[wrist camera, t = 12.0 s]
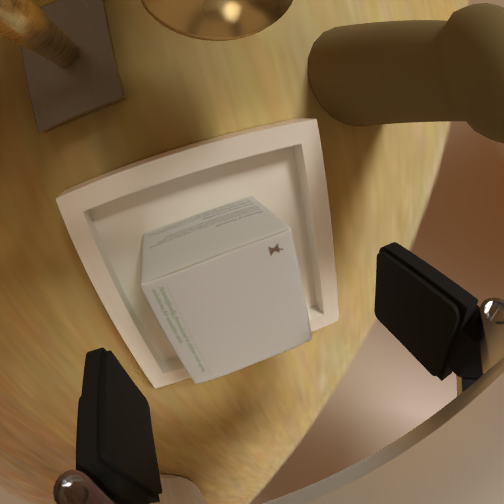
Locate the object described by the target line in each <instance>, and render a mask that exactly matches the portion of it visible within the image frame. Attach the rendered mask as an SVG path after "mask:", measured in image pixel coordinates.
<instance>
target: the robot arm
mask: <svg viewBox="0 0 504 504" xmlns="http://www.w3.org/2000/svg"><path fill="white" fill-rule="evenodd" d="M477 303H478V299H476V298H475V297H474V296H472V295H471V294H470V293H468V292H467V291H466V290H464V289H463V288H461V287H460V286H459V285H458V284H456V283H455V282H453V281H452V280H450V279H449V278H448V277H446V276H445V275H444V274H442V273H441V272H439V271H438V270H437V269H435V268H434V267H432V266H431V265H429V264H428V263H426V262H425V261H423V260H422V259H420V258H419V257H417V256H416V255H414V254H413V253H412V252H410V251H409V250H407V249H405V248H404V247H402V246H401V245H399V244H398V243H396V242H394V243H391V244H389V245H386V246H384V247H382V248H380V251H379V253H378V255H377V269H376V293H375V315H376V317H377V319H378V320H379V321H380V322H381V323H382V324H383V325H384V326H385V327H386V328H387V329H388V330H389V331H390V332H391V333H392V334H393V335H394V336H395V337H396V338H397V339H398V340H399V341H400V342H401V343H402V344H403V345H404V346H405V347H406V348H407V349H408V351H409V352H411V354H412V355H413V356H414V357H415V358H416V359H417V360H418V361H419V362H420V363H421V364H422V365H423V366H424V367H425V368H426V369H427V370H428V371H429V372H430V373H431V374H432V375H433V376H437V377H438V378H439V379H440V380H441V381H442V380H443V379H444V378H446V377H447V376H448V375H450V374H451V373H452V371H453V372H454V373H455V374H456V377H457V397H456V398H455V399H454V400H453V401H451V402H450V403H449V404H447V405H446V406H445V407H444V408H442V409H441V410H440V411H438V412H437V413H436V414H434V415H433V416H432V417H430V418H429V419H427V420H426V421H424V422H423V423H422V424H420V425H419V426H417V427H416V428H414V429H413V430H411V431H410V432H408V433H407V434H405V435H404V436H402V437H401V438H399V439H397V440H396V441H394V442H393V443H391V444H389V445H388V446H386V447H384V448H383V449H381V450H379V451H378V452H376V453H374V454H372V455H371V456H369V457H367V458H365V459H363V460H362V461H360V462H358V463H356V464H354V465H352V466H350V467H349V468H346V469H344V470H342V471H341V472H338V473H336V474H334V475H332V476H330V477H328V478H325V479H323V480H321V481H319V482H317V483H314V484H312V485H310V486H307V487H305V488H303V489H300V490H297V491H295V492H292V493H290V494H287V495H285V496H282V497H279V498H276V499H274V500H271V501H268V502H265V503H262V504H504V300H502V299H500V298H489V299H486V300H485V301H483V303H482V304H481V306H480V307H479V306H477ZM159 494H162V485H161V480H160V475H159V469H158V464H157V458H156V452H155V445H154V439H153V432H152V424H151V417H150V408H149V404H148V402H147V400H146V398H145V397H144V395H143V394H142V393H141V391H140V390H139V389H138V387H137V386H136V385H135V384H134V382H133V381H132V380H131V378H130V377H129V375H128V374H127V373H126V371H125V370H124V369H123V367H122V366H121V364H120V363H119V361H118V360H117V359H116V357H115V356H114V354H113V353H112V352H111V351H106V350H105V349H104V348H100V349H96V350H93V351H89V352H87V354H86V359H85V367H84V376H83V386H82V395H81V397H80V398H79V404H78V418H77V438H76V470H69V471H66V472H64V473H63V474H61V475H60V476H59V477H58V479H57V480H56V482H55V485H54V490H53V495H54V500H55V502H56V504H150V503H156V502H160V498H159Z"/></svg>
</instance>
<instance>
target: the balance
mask: <svg viewBox="0 0 504 504" xmlns="http://www.w3.org/2000/svg"><path fill="white" fill-rule="evenodd" d="M292 1H293V0H141V2H142V4H143V6H144V7H145V9H146V10H147V11H148V13H149V14H150V15H151V16H152V17H153V18H154V19H155V20H157V21H158V22H159V23H160V24H162V25H163V26H165V27H167V28H168V29H170V30H172V31H174V32H177V33H179V34H181V35H185V36H188V37H191V38H196V39H201V40H210V41H225V40H235V39H239V38H244V37H247V36H250V35H253V34H255V33H258V32H260V31H262V30H264V29H265V28H267V27H269V26H270V25H272V24H273V23H274V22H276V21H277V20H278V19H279V18H281V17H282V15H283V14H284V13H285V12H286V11H287V10H288V8H289V7H290V5H291V3H292ZM0 35H1V36H3V37H5V38H7V39H9V40H11V41H13V42H15V43H17V44H19V45H21V47H22V54H23V61H24V67H25V73H26V79H27V84H28V89H29V94H30V98H31V103H32V107H33V111H34V116H35V120H36V124H37V127H38V131H39V133H41V132H48V131H50V130H52V129H54V128H56V127H58V126H60V125H63V124H65V123H67V122H69V121H72V120H74V119H76V118H78V117H81V116H83V115H86V114H88V113H91V112H93V111H96V110H98V109H101V108H103V107H106V106H109V105H111V104H114V103H117V102H120V101H122V100H125V97H124V93H123V89H122V85H121V81H120V77H119V72H118V68H117V64H116V59H115V54H114V50H113V45H112V40H111V35H110V30H109V25H108V20H107V14H106V9H105V3H104V0H57V1H55V2H53V3H50V4H48V5H46V6H44V7H42V8H39V7H38V6H37V5H36V4H35V3H34V2H33V1H32V0H0Z"/></svg>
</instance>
